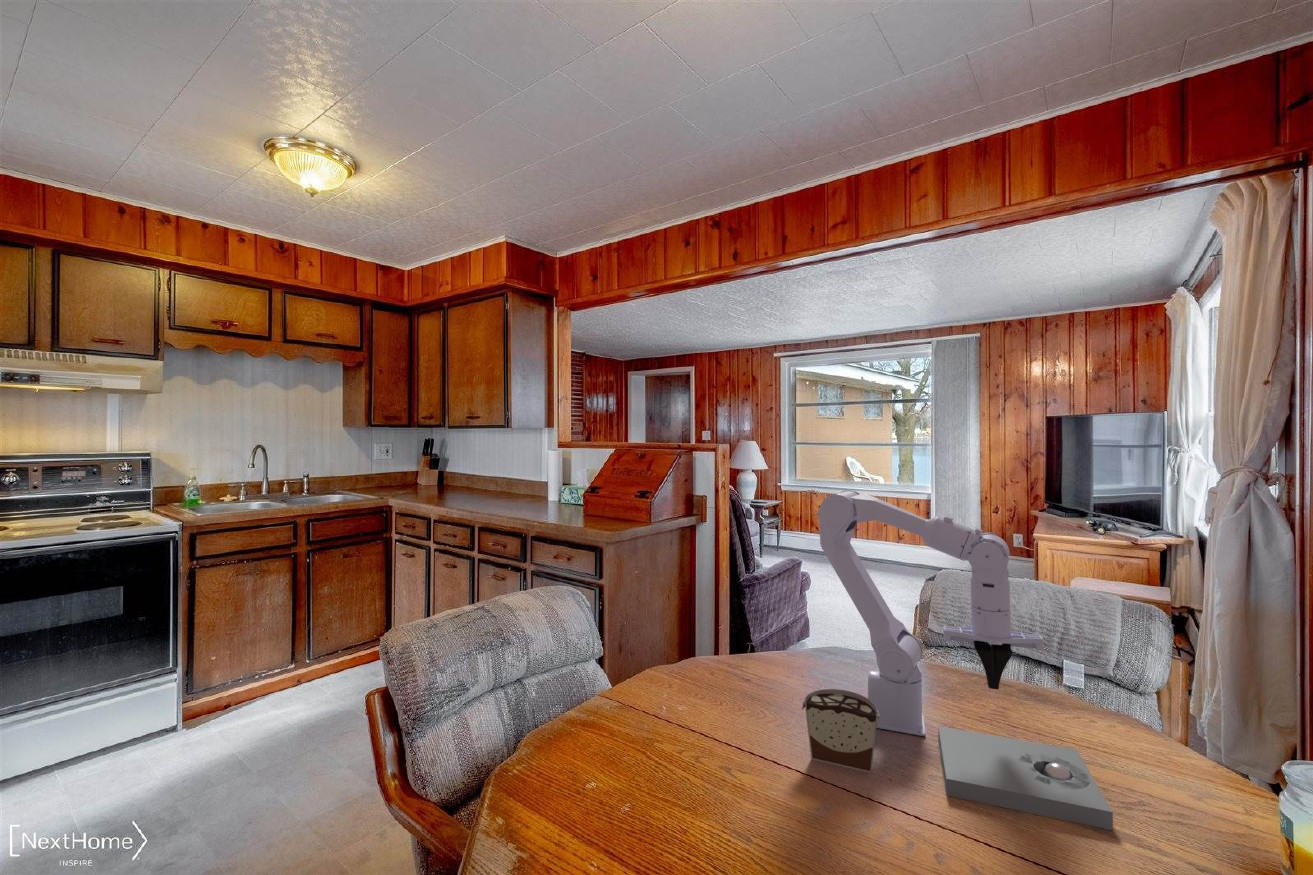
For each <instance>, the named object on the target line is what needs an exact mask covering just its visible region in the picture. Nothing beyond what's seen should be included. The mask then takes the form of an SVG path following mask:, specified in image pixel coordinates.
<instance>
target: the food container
mask: <svg viewBox="0 0 1313 875" xmlns="http://www.w3.org/2000/svg"><path fill="white" fill-rule="evenodd" d="M804 709H805V715H806V716H805V717H806V725H807V732H808V743H809V751H810V759H811V760H812V761H817V762H821V763H826V764H829V765H833V766H839V767H842V768H846V769H847V768H848V769H852V770H856V771H861V772H865V773H869V774H872V773H873V765H874V754H875V744H876V736H877V728H876V727H877V717H878V719H879V722H880V725H881V720H880V715H879V712H878V710H877V707H876V705H875V704H874V703H873V702H872V701H871V700H869V699H868V697H866V696H864V695H862V694H860V693H856V692H853V691H850V690H849V691H848V690H845V689H836V688H823V689H818V690H814V691H811V692H809V693H808V694H807V695H806V696H805V697H804V699H803V701H802V706H801V710H802V711H803V710H804Z"/></svg>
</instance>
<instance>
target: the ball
mask: <svg viewBox="0 0 1313 875" xmlns="http://www.w3.org/2000/svg"><path fill="white" fill-rule="evenodd" d="M1044 776H1046V777H1049V778H1051V779H1056V780H1061V781H1065V780H1071V779H1072V776H1071V774H1070V772H1069V771H1068V769H1067V768H1066V767H1064V766H1063V765H1061V764H1059V763H1049V764H1047V765H1046V766H1045V768H1044Z"/></svg>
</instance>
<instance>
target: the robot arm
mask: <svg viewBox="0 0 1313 875" xmlns="http://www.w3.org/2000/svg"><path fill="white" fill-rule="evenodd" d="M818 509H819V510H818V511H817V513H816V514H817V515H816V517H817V519H818V521H819V537H820V538H819V543H820V544H819V545H820V547H821V550H823V552H824V554H825V556H826V558H827V559H828V561H829V563H830V565H831V566H832V568H833V570H834V572H835V573H836V575H837V577H838V579H839V580H840V582H841V583H842V585H843V587H844V589H845V590H846V592H847V594H848V595H849V598H850V599H851V601H852V603H853V605H854V606H855V608H856V610H857V611H858V613H859V615H860V617H861V618H862V620H863V621H864V623H865V625H866V627H867V629H868V631H869V635H870V644H871V647H872V648H873V650H874V653H875V656H876V664H877V666H878V669H869V670H868V672H867V673H868V674H867V698H868V699H869V700H871V701H872V702H873V703H874V704H875V705H876V707H877V710H878V712H879V715H880V720H881V725H880V722H879V719H878V717H877V727H876V729H881V730H885V731H887V730H888V731H893V732H899V733H903V734H909V735H915V736H920V737H925V736H926V733H927V732H926V725H925V717H924V714H923V689H922V687H923V686H922V683H923V676H922V673H921V671H920V668H919V667H918V663H919V662H920V661H921V659H922V657H923V655H924V648H923V645H922V643H921V641H920V640H919V639H918V638H917V636H915V634H912V633H911V632H910V631H909V630H908V629H907V627H906V626H905V625H904V623H903V622H902V621H901V620H899V619H898V618H896V617H895V616H894V614H893V611H891V609H890V607H889V605H888V604H887V602H886V600H885V598H884V597H883V595H882V594H881V592H880V591H879V589H878V587H877V585H876V584H875V583H874V582H875V581H873V579H872V577H871V576H870V573H869V572H868V571H867V569H866V567H865V566H864V563H863V562H862V560H861V559H860V557H859V556H858V554H857V552H856V551H855V549H854V547H853V545H852V544H851V540H852V536H853V534H854V531H855V527H856V526H857V525H858V524H859V523H867V522H872V521H873V522H874V521H877V522H880V523H883V524H886V525H889V526H891V527H895V528H897V529H900V530H903V531H905V532H908V533H910V534H913V535H917V536H919V537H920V538H921V539H922V541H923V543H924V545H925V546H926V547H928V548H931V549H933V550H935V551H938V552H941V553H943V554H946V555H949V556H951V557H952V558H955V559H958V560H960V561H962V562H965V561H968V563H969V565H970V566H971V577H970V598H971V599H970V600H971V602H970V605H971V607H970V608H971V626H943V628H942V632H943V633H942V635H943V636H942V637H943V640H944V641H945V642H952V641H955V642H965V643H973V646H974V649H975V651H976V653H977V655H978V657H979V659H980V661H981V664H982V667H983V669H984V672H985V677H986V681H987V686H988V688H989V689H990V690H999V688H1000V683H1001V679H1002V676H1003V673H1004V669H1005V668H1006V666H1007V664H1008V663H1009V661H1010V660H1011V658H1012V655H1013V650H1012V647H1016V648H1017V647H1018V648H1024V649H1025V648H1026V649H1034V650H1036V651H1042V652H1044V638H1043V637H1042V636H1041V635H1040V634H1033V633H1032V634H1031V633H1026V632H1021V631H1013V630H1012V626H1011V625H1012V623H1011V619H1012V618H1011V617H1012V616H1011V590H1010V589H1011V585H1010V583H1011V582H1010V580H1009V576H1010V575H1009V573H1010V572H1009V569H1008V565H1009V561H1010V559H1009V557H1010V548H1009V546H1008V544H1007V542H1006V541H1005V540H1004V539H1003V538H1002V537H1000V536H998V535H996V534H995V533H994V532H983V530H982V529H980V528H978V527H976V529H973V528H971V527H969V526H968V527H967V526H965V525H962V524H959V523H957V522H955V521H954V517H951V516H948V515H945V516H944V517H941V516H934V517H932V518H925V517H923V516H919V515H917V514H915V513H913V512H911V511H909V510H905V509H903V508H901V507H899V506H897V505H894V504H892V503H890V502H888V501H887V502H886V501H885V500H882V499H880V498H877V497H875V496H873V495H870V494H866V493H864V492H863V493H859V492H858V491H856V490H854V489H853V490H852V489H845V490H842V491H840V492H838V493H833V494H832V493H831V494H830V495H827V496H826V497H824V499H823V500H822V501H821V504H820V507H819V508H818Z"/></svg>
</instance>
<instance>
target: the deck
mask: <svg viewBox="0 0 1313 875" xmlns="http://www.w3.org/2000/svg"><path fill="white" fill-rule="evenodd" d="M937 727H938V733H937V734H938V735H937V736H938V737H937V738H938V748H939V754H940V760H941V766H942V767H941V768H942V773H943V780H944V786H945V787H944V788H945V795H946V796H949V797H953V798H958V799H961V800H962V799H963V800H966V801H971V802H977V803H981V804H986V805H991V806H995V807H999V808H1000V807H1001V808H1006V809H1009V810H1014V811H1018V812H1024V813H1028V814H1032V815H1037V816H1042V817H1046V818H1047V817H1048V818H1052V819H1056V820H1060V821H1066V822H1070V823H1074V824H1081V825H1085V826H1089V827H1095V828H1099V829H1103V830H1109V831H1114V814H1113V813H1114V812H1113V810H1112V808H1111V807H1110V805H1109V803H1108V802H1107V799H1106V798H1105V796H1104V794H1103V793H1102V791H1101V789H1100V788H1099V785H1098V784H1097V782H1096V780H1095V778H1094V777H1093V774H1092V773H1091V772H1090V770H1089V768H1088V766H1087V765H1086V763H1085V761H1084V760H1083V758H1082V756H1081V754H1080V751H1079V750H1078V749H1075V748H1071V747H1069V748H1068V747H1064V746H1060V745H1059V746H1058V745H1052V744H1046V743H1041V742H1034V741H1029V740H1023V739H1017V738H1016V739H1015V738H1011V737H1005V736H999V735H994V734H987V733H984V732H983V733H981V732H975V731H969V730H965V729H958V728H951V727H946V726H940V725H938V726H937ZM1049 763H1059V764H1061V765H1063V766H1064V767H1066V768H1067V769H1068V771H1069V772H1070V774H1071V776H1072V779H1071V780H1065V781H1061V780H1056V779H1051V778H1049V777H1046V776H1044V768H1045V766H1046V765H1047V764H1049Z"/></svg>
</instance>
